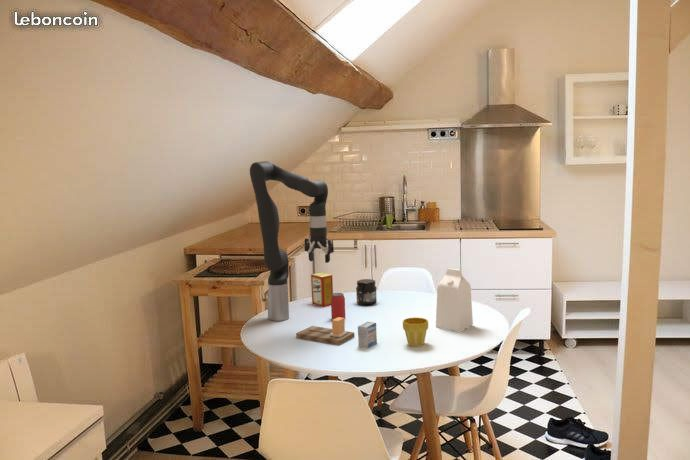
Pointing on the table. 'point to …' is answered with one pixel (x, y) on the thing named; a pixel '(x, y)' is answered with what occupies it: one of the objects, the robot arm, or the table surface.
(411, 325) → the plant pot
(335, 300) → the beer can
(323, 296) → the baking soda box
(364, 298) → the supplement container
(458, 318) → the milk
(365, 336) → the medicine box
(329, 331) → the fader board
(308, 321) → the table surface
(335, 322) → the fader tab
